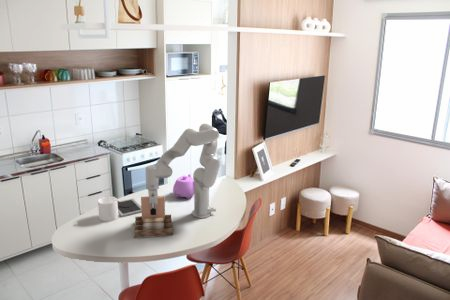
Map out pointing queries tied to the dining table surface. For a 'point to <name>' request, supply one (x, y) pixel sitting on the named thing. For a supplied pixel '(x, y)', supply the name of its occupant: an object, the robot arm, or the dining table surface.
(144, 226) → the grey offcut
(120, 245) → the dining table surface
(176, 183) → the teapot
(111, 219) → the cup
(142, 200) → the plywood sheet
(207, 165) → the robot arm
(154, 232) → the offcut rack
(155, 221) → the birch offcut
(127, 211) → the picture frame
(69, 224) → the dining table surface
